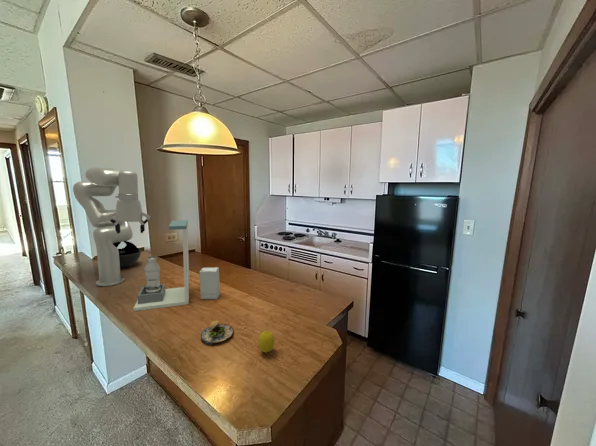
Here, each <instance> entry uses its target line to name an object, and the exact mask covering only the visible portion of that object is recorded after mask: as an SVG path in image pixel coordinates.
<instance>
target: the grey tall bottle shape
mask: <svg viewBox="0 0 596 446" xmlns="http://www.w3.org/2000/svg"><path fill="white" fill-rule="evenodd" d="M157 260H158V259H157V256H155V255H154V256H153V255H152V256H151V255H150V256H148V257H147V258H146V261H147V263H146V264H145V266H144V269H143V271H144V275H145V280H146V285H145V286H146V294H151V293H160V292H161V287H160V285H161V283H160V274H161V266H160V264H159V263H158V262H157Z"/></svg>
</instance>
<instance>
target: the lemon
mask: <svg viewBox="0 0 596 446" xmlns="http://www.w3.org/2000/svg"><path fill="white" fill-rule="evenodd" d="M257 340H258V342H257V344H258V348H259V350H260V351H261V352H263V353H265V354H266V353H270V352H271V351H272V350H273V349H274V347H275V336H274V334H273V333H272V332H271V331H269V330H264V331H262V332H261V333H260V335H259V337H258V339H257Z"/></svg>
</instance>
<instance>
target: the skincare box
mask: <svg viewBox="0 0 596 446" xmlns="http://www.w3.org/2000/svg"><path fill="white" fill-rule="evenodd" d="M219 268H220V267H202V268H201V269H200V271H198V273H199V274H198V275H199V288H200V300H218V298H219V297H220V295H221V289H220V288H221V286H220V285H221V283H220V271H219V270H220V269H219Z"/></svg>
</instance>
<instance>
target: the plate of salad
mask: <svg viewBox="0 0 596 446" xmlns="http://www.w3.org/2000/svg"><path fill="white" fill-rule="evenodd" d="M211 319H212V321H211V322H210V324H209V326H208V327H206V328H205V329H203V330H202V331H201V333H200V342H201V343H202V344H204V345H206V346H209V347H212V345H213V344H218V343H220V342H223V341H226V340H228V339H229V338H230V337H232V335H233V333H234V328H233V327H232V326H230V325H228V324H225V323H224V324H220V323H221V321H220V320H218V319H217V320H214V319H213V318H211Z"/></svg>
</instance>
